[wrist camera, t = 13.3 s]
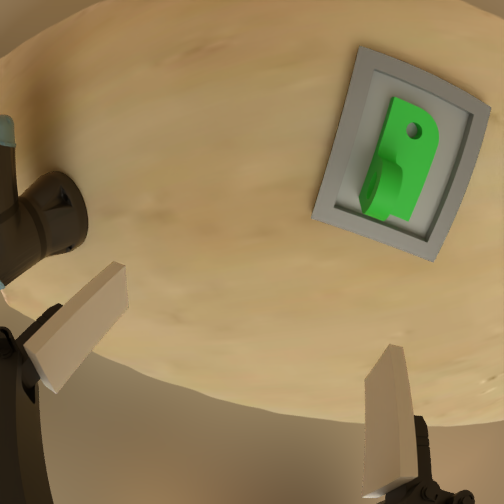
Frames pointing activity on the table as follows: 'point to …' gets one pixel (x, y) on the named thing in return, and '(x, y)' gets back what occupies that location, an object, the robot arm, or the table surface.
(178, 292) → the table surface
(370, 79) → the locating tray
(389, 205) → the mechanical part
